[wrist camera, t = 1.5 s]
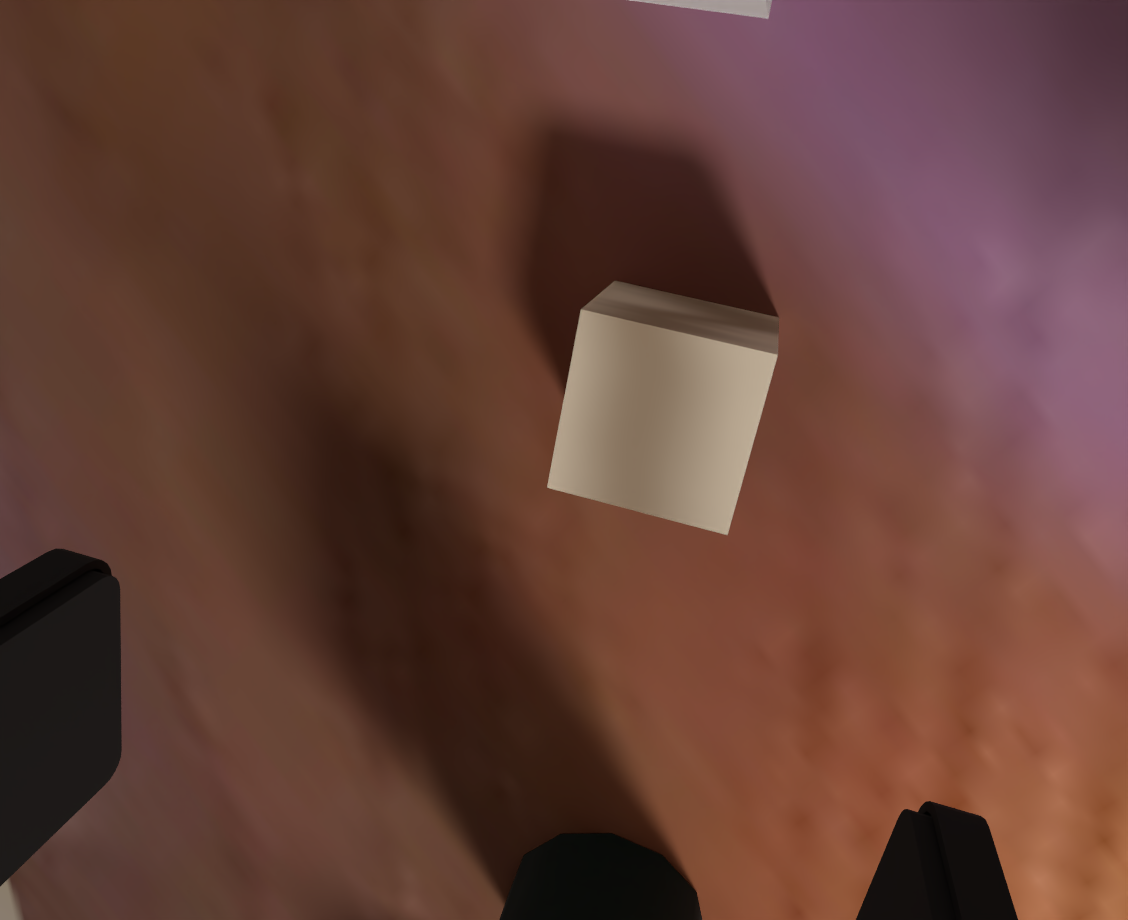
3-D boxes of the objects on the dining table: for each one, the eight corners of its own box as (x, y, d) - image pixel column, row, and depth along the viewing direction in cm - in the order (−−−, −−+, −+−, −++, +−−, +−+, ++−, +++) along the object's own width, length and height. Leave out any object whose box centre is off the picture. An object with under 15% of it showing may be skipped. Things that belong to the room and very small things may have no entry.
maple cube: (779, 317, 26) (778, 355, 22) (736, 470, 28) (727, 535, 24) (615, 280, 27) (581, 309, 22) (584, 431, 29) (547, 487, 24)
